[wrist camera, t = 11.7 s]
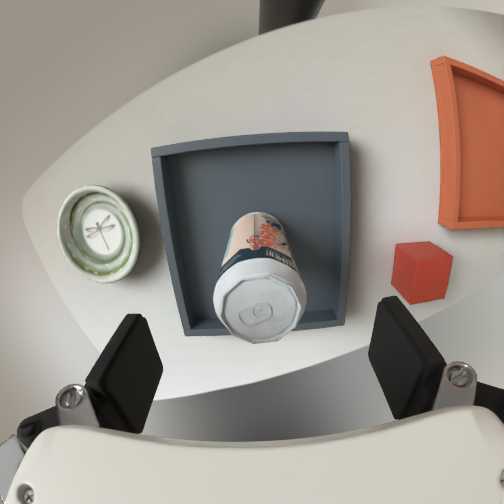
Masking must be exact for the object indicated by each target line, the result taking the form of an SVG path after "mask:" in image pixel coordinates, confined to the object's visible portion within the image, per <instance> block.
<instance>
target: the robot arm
mask: <svg viewBox="0 0 504 504" xmlns="http://www.w3.org/2000/svg"><path fill="white" fill-rule="evenodd" d="M368 356H369V360H370V362H371V365H372V367H373V369H374V372H375V374H376V376H377V378H378V381H379V383H380V385H381V387H382V390H383V392H384V395H385V397H386V399H387V402H388V404H389V407H390V409H391V412H392V414H393V417H394V418H395V419H398V420H397V421H393V422H389V423H386V424H381V425H377V426H373V427H368V428H364V429H359V430H355V431H349V432H344V433H338V434H332V435H326V436H318V437H310V438H302V439H292V440H279V441H263V442H212V441H193V440H181V439H171V438H162V437H154V436H148V435H141V434H139V433H142V431H143V428H144V425H145V422H146V419H147V416H148V413H149V410H150V407H151V404H152V401H153V398H154V396H155V393H156V390H157V387H158V384H159V381H160V378H161V376H162V373H163V365H162V362H161V359H160V357H159V354H158V351H157V349H156V346H155V343H154V340H153V337H152V335H151V332H150V329H149V326H148V323H147V320H146V318H144V317H142V315H141V314H127V315H126V316H125V318H124V319H123V321H122V322H121V324H120V325H119V327H118V328H117V330H116V331H115V333H114V334H113V336H112V337H111V339H110V341H109V342H108V344H107V345H106V347H105V348H104V350H103V352H102V353H101V355H100V357H99V358H98V360H97V361H96V363H95V365H94V366H93V368H92V370H91V371H90V373H89V375H88V376H87V378H86V380H85V381H86V384H85V386H84V387H83V386H82V385H79V384H72V385H68V386H66V387H64V388H63V389H62V390H60V392H59V393H58V394H57V397H56V406H55V407H52V408H50V409H47V410H45V411H43V412H40V413H38V414H35V415H33V416H31V417H28V418H26V419H24V420H23V421H22V422H21V423H20V425H19V427H18V430H17V436H15V435H14V434H13V435H12V436H11V437H9V438H8V439H7V440H5V441H4V442H3V443H2V444H0V498H1V500H2V502H3V504H504V389H500V388H497V387H493V386H490V385H487V384H483V383H480V382H477V375H476V372H475V370H474V369H473V368H472V367H471V366H470V365H468V364H466V363H464V362H452V363H449V364H448V365H447V364H446V362H445V361H444V358H443V357H442V355H441V354H440V352H439V351H438V350H437V348H436V347H435V345H434V344H433V343H432V341H431V340H430V339H429V337H428V336H427V335H426V333H425V332H424V330H423V329H422V328H421V326H420V325H419V324H418V323H417V321H416V320H415V319H414V317H413V316H412V315H411V313H410V312H409V311H408V310H407V308H406V307H405V306H404V305H403V303H402V302H401V301H400V300H399V298H398V297H397V296H391V297H384V298H382V300H381V302H379V303H378V305H377V311H376V317H375V322H374V328H373V333H372V338H371V342H370V347H369V352H368Z"/></svg>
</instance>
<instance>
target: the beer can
mask: <svg viewBox="0 0 504 504" xmlns="http://www.w3.org/2000/svg"><path fill="white" fill-rule="evenodd" d="M306 295H307V294H306V290H305V287H304V284H303V282H302V280H301V277H300V274H299V271H298V269H297V266H296V263H295V260H294V257H293V255H292V252H291V249H290V246H289V244H288V241H287V238H286V235H285V232H284V229H283V227H282V225H281V223H280V222H279V221H278V220H277V219H276V218H275V217H273V216H271V215H269V214H267V213H263V212H253V213H249V214H246V215H244V216H243V217H241V218H240V219H239V220H238V221H236V223H235V224H234V226H233V227H232V230H231V234H230V238H229V241H228V245H227V249H226V252H225V256H224V259H223V263H222V266H221V270H220V274H219V277H218V281H217V284H216V286H215V290H214V296H213V303H214V307H215V311H216V314H217V316H218V318H219V319H220V321H221V322H222V323H223V324H224V325H225V327H227V329H228V330H229V331H230V333H231V334H232V335H233V336H235V337H238V338H240V339H243V340H245V341H248V342H250V343H253V344H257V343H266V342H274V341H278V340H279V339H281V338H282V337H283V336H285V335H286V334H287V333H289V332H290V331H291V330H293V329H294V328H295V327H296V324H297V323H298V322H299V320H300V318H301V317H302V315H303V313H304V309H305V306H306V302H307V301H306Z"/></svg>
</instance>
